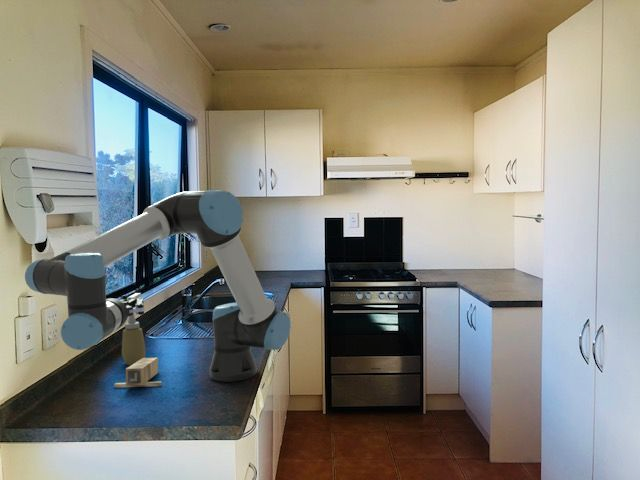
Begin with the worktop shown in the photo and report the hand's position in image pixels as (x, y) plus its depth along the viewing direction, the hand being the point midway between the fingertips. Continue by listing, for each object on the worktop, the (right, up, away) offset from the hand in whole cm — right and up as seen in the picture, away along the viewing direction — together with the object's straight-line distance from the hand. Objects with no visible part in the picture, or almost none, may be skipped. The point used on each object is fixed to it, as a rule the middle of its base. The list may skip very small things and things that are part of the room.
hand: (138, 297), depth 143 cm
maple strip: (-6, -29, +16) cm, 34 cm away
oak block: (-6, -25, +13) cm, 29 cm away
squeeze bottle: (-16, -28, +40) cm, 51 cm away
